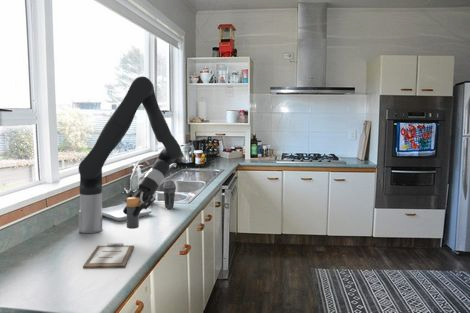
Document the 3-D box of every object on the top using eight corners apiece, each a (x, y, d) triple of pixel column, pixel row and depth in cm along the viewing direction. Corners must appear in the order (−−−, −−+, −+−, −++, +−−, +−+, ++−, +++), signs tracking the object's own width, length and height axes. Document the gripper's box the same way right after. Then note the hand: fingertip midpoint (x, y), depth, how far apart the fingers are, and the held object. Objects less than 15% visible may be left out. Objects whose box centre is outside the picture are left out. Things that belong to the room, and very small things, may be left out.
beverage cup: (159, 208, 214) (160, 173, 212) (168, 205, 220) (168, 171, 218) (170, 210, 211) (170, 174, 208) (178, 207, 217) (178, 172, 215)
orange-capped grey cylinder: (125, 228, 155) (125, 199, 154) (127, 225, 160) (127, 196, 159) (138, 228, 156) (138, 199, 155) (139, 225, 161) (139, 197, 160)
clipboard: (83, 268, 132) (82, 263, 132) (97, 247, 152) (97, 243, 152) (124, 267, 133) (124, 262, 133) (133, 247, 153) (133, 242, 153)
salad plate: (129, 208, 213) (129, 202, 213) (153, 216, 200) (153, 209, 200) (94, 216, 197) (94, 209, 196) (118, 224, 184) (118, 217, 183)
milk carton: (153, 202, 227) (154, 170, 225) (150, 205, 220) (150, 172, 218) (142, 202, 228) (142, 170, 225) (138, 204, 221) (138, 172, 218)
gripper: (135, 174, 166) (112, 206, 157) (159, 178, 158) (136, 212, 150) (144, 184, 171) (122, 216, 162) (168, 189, 163) (146, 222, 155)
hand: (129, 214), depth 156 cm, fingers closed on orange-capped grey cylinder, 5 cm apart
